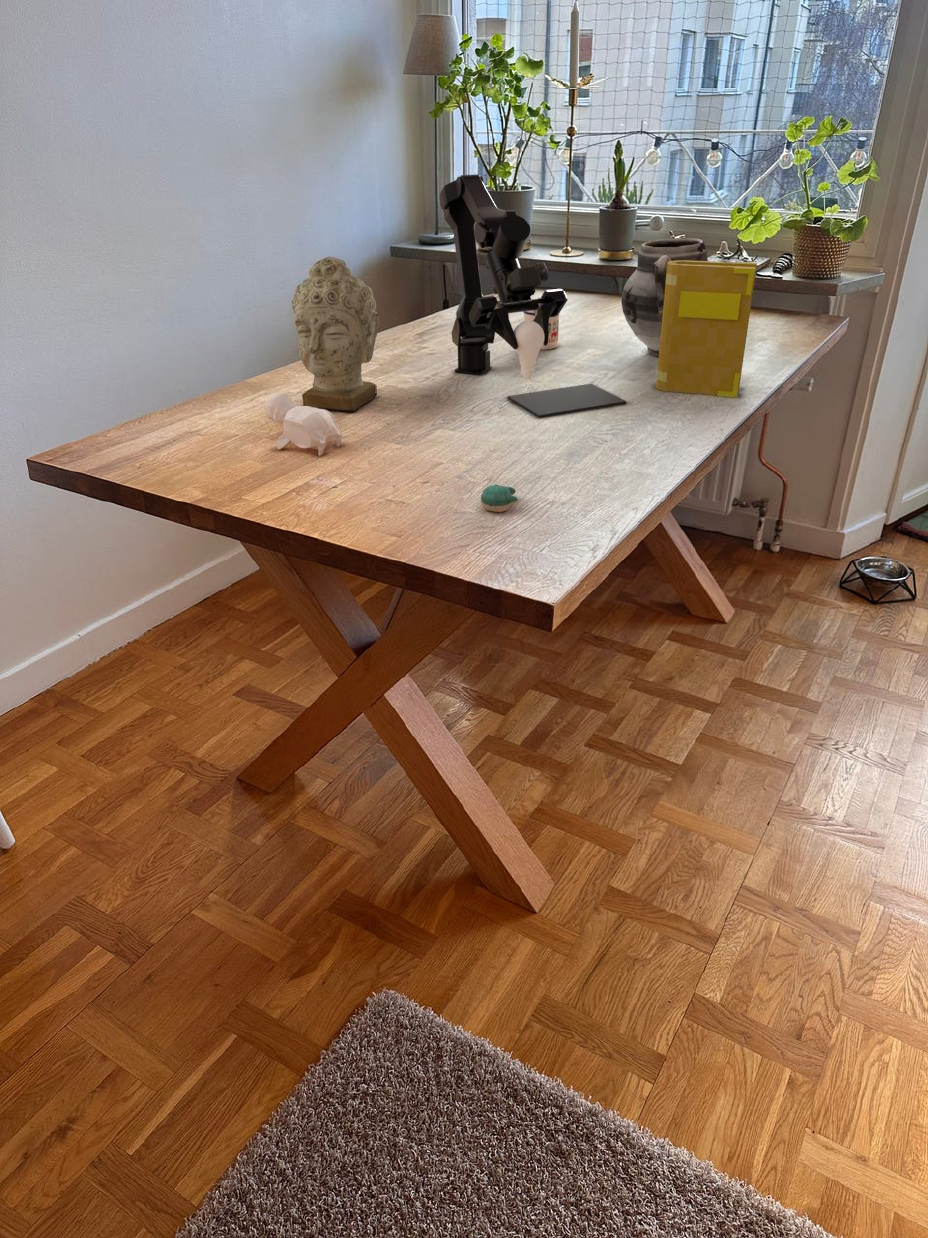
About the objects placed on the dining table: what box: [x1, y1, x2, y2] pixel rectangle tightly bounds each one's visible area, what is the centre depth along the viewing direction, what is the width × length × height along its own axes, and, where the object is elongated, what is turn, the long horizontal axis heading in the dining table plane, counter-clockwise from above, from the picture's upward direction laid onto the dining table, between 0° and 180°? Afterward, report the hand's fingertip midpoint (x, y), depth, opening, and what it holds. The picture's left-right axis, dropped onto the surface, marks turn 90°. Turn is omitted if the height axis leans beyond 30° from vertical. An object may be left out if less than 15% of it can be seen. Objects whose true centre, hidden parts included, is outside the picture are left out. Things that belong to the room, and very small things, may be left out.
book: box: [655, 260, 758, 398], centre depth 182 cm, size 17×7×25 cm, turn 71°
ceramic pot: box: [620, 237, 709, 357], centre depth 208 cm, size 29×23×25 cm
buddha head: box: [291, 256, 380, 413], centre depth 179 cm, size 17×19×28 cm
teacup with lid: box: [523, 295, 560, 351], centre depth 220 cm, size 12×9×12 cm
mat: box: [507, 383, 627, 418], centre depth 183 cm, size 14×20×1 cm
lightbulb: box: [513, 320, 545, 380], centre depth 172 cm, size 6×6×11 cm
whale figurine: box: [480, 484, 518, 513], centre depth 138 cm, size 6×7×4 cm
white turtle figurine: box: [263, 392, 344, 457], centre depth 162 cm, size 9×8×15 cm
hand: (531, 346), depth 170 cm, fingers closed on lightbulb, 6 cm apart
